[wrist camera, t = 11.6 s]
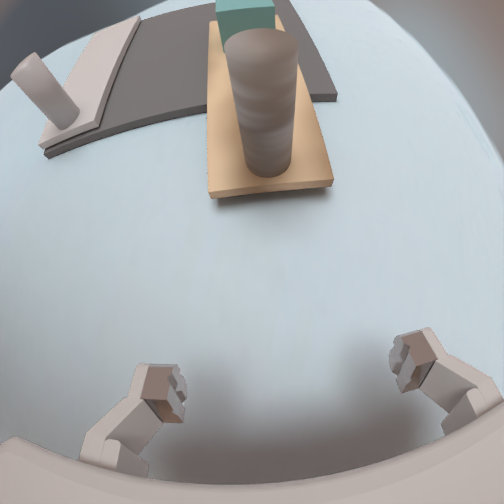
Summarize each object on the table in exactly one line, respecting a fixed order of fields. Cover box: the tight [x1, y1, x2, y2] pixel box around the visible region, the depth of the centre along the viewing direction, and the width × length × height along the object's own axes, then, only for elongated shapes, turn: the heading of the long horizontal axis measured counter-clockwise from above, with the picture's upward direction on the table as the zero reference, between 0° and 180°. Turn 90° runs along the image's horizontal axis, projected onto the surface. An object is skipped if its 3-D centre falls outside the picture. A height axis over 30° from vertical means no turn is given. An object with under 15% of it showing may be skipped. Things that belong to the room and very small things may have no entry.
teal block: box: [216, 0, 276, 53], centre depth 19 cm, size 5×5×5 cm
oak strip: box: [207, 15, 334, 199], centre depth 16 cm, size 8×24×10 cm, turn 5°
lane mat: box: [43, 0, 338, 159], centre depth 25 cm, size 30×25×1 cm
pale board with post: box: [11, 16, 141, 149], centre depth 20 cm, size 8×24×10 cm, turn 5°
